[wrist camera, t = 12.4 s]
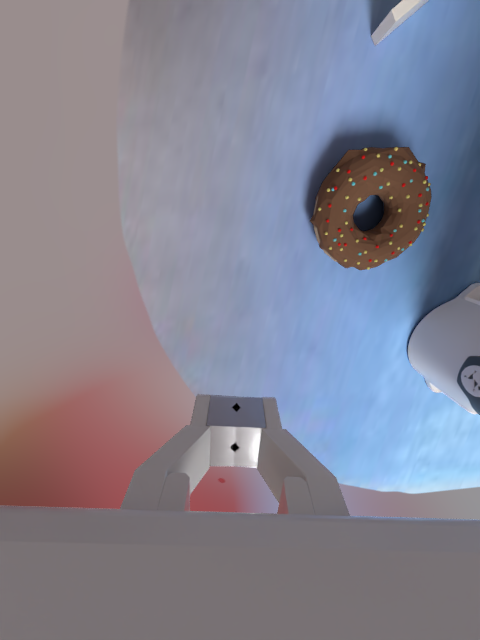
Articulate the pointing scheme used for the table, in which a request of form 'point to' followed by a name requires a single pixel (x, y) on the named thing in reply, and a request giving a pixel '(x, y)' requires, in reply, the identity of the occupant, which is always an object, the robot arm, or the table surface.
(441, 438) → the table surface
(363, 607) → the robot arm
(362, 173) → the donut
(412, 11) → the tray
